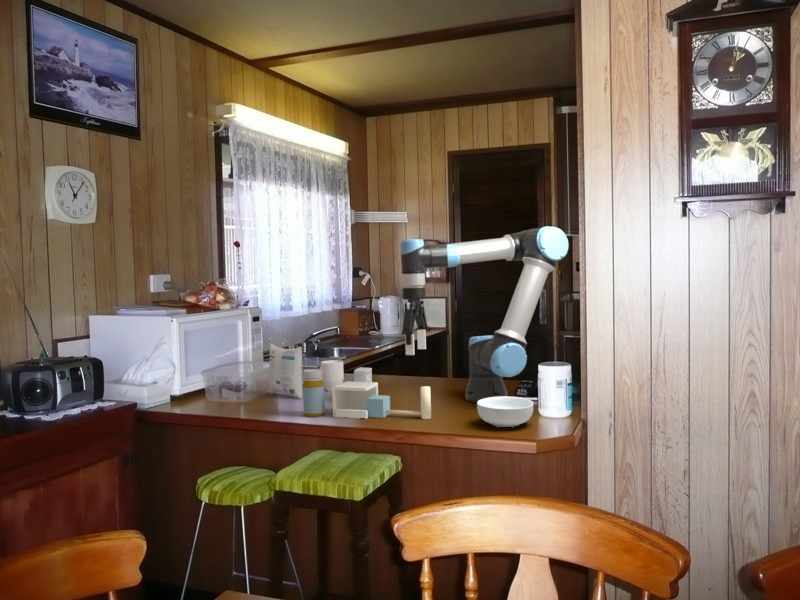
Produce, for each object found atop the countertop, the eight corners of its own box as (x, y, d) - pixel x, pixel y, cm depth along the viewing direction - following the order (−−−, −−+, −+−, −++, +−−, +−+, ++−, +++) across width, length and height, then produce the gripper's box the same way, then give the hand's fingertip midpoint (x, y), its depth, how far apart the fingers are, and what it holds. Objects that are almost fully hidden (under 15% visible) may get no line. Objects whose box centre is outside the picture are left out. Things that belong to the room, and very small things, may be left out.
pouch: (292, 401, 237) (290, 347, 236) (264, 394, 251) (262, 344, 250) (309, 397, 243) (307, 345, 242) (281, 391, 256) (279, 342, 255)
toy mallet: (433, 416, 206) (432, 385, 205) (428, 420, 200) (427, 389, 200) (373, 412, 213) (372, 383, 213) (366, 416, 208) (365, 386, 207)
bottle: (314, 411, 218) (313, 368, 218) (329, 414, 214) (327, 369, 213) (299, 415, 213) (297, 371, 212) (313, 418, 208) (312, 372, 208)
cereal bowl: (466, 425, 193) (465, 402, 193) (499, 415, 205) (498, 394, 204) (512, 435, 181) (511, 410, 181) (544, 423, 193) (544, 400, 192)
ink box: (367, 403, 230) (366, 370, 229) (353, 403, 231) (352, 370, 230) (372, 398, 238) (371, 366, 237) (360, 398, 239) (359, 366, 238)
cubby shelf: (378, 411, 215) (377, 382, 215) (366, 418, 205) (365, 388, 205) (346, 409, 219) (345, 381, 219) (332, 416, 210) (331, 386, 209)
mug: (349, 389, 256) (347, 360, 255) (333, 394, 249) (332, 364, 248) (328, 387, 263) (327, 358, 262) (313, 391, 256) (311, 361, 255)
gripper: (413, 285, 220) (415, 346, 221) (390, 289, 196) (393, 357, 197) (434, 285, 218) (436, 346, 219) (413, 288, 194) (416, 357, 195)
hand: (416, 351), depth 208 cm, fingers open, 13 cm apart
